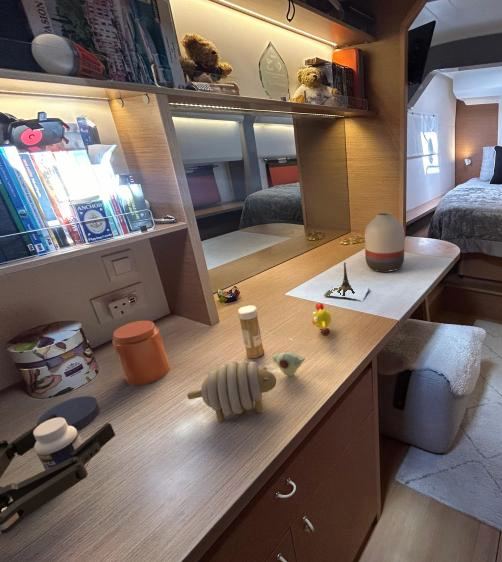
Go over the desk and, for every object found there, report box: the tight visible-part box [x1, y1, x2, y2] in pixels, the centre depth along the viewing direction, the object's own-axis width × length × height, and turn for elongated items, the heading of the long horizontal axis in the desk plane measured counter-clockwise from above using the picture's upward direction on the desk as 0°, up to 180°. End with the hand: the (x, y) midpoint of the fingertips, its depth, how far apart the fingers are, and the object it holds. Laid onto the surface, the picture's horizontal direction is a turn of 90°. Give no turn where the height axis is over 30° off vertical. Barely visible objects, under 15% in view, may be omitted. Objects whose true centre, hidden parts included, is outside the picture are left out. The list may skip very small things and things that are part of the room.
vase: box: [364, 212, 406, 272], centre depth 145 cm, size 17×17×24 cm
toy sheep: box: [187, 360, 277, 423], centre depth 69 cm, size 11×17×11 cm, turn 112°
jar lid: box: [36, 395, 101, 431], centre depth 70 cm, size 10×10×2 cm
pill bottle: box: [33, 417, 90, 471], centre depth 57 cm, size 5×5×10 cm
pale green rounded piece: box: [272, 351, 306, 376], centre depth 80 cm, size 8×4×7 cm, turn 78°
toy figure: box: [311, 302, 332, 337], centre depth 99 cm, size 18×6×7 cm, turn 14°
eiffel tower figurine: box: [323, 259, 355, 297], centre depth 122 cm, size 15×10×13 cm
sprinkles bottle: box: [237, 305, 265, 359], centre depth 88 cm, size 5×5×14 cm
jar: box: [111, 320, 171, 386], centre depth 81 cm, size 9×9×13 cm
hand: (83, 424), depth 61 cm, fingers open, 11 cm apart
